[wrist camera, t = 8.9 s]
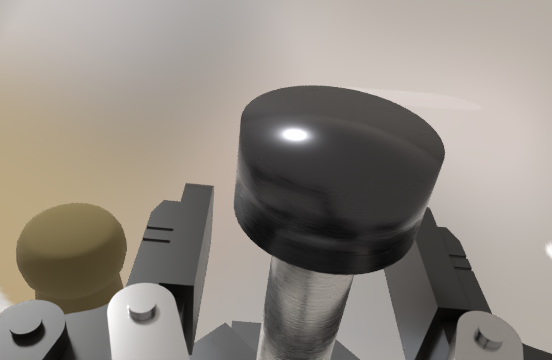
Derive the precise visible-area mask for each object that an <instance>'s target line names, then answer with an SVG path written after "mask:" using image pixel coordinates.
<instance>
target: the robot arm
mask: <svg viewBox="0 0 552 360" xmlns="http://www.w3.org/2000/svg"><path fill="white" fill-rule="evenodd" d="M213 197H214V186H209V185H199V184H188V183H186V185H185V189H184V192H183V196H182V199H181V202H177V201H167V200H164V201H163V202H162V203H161V204H159V206H157V207H156V208H155V209H154V210H153V211H152V212H151V215H150V218H149V221H148V224H147V228H146V230H145V233H144V236H143V240H142V241H141V245H140V247H139V250H138V253H137V256H136V259H135V262H134V265H133V268H132V271H131V274H130V276H129V279H128V283H127V285H126V287H125V288H124V289H122V290H120V291H119V292H118V293H116V294H115V295H114V296H113V298H112V299H111V301H110V303H108V304H106V305H104V306H102V307H99V308H96V309H92V310H88V311H82V312H77V313H71V314H66V315H64V313H63V311H62V310H61V309H60V308H59V307H58V306H57V305H55V304H54V303H51V302H49V301H44V300H30V301H24V302H21V303H18V304H15V305H13V306H11V307H9V308H7V309H5V310H4V311H3V312H1V313H0V360H190V358H189V355H192V352H193V346H194V339H195V334H196V328H197V322H198V316H199V310H200V304H201V298H202V293H203V287H204V281H205V275H206V269H207V263H208V257H209V251H210V243H211V233H212V216H213ZM384 271H385V276H386V280H387V284H388V288H389V293H390V297H391V301H392V305H393V309H394V313H395V317H396V322H397V326H398V330H399V334H400V338H401V342H402V346H403V351H404V355H405V359H406V360H552V354H550V353H547V352H544V351H542V350H539V349H536V348H533V347H530V346H528V345H525V344H523V343H522V342H521V339H520V337H519V335H518V334H517V333H516V331H515V330H514V329H513V328H512V327H511V326H510V325H509V324H508V323H507V322H505V321H504V320H502V319H501V318H499V317H497V316H495V315H493V314H492V313H491V311H490V308H489V306H488V304H487V302H486V299H485V297H484V295H483V293H482V290H481V288H480V286H479V284H478V281H477V279H476V277H475V275H474V272H473V271H471V266H470V263H469V261H468V259H466V254H465V252H464V250H463V248H462V245H461V243H460V241H459V240H458V239H457V238H456V237H455V236H454V235H453V234H452V233H451V232H450V231H449V230H448V229H447V228H445V227H437V225H436V222H435V220H434V217H433V215H432V212H431V210H430V209H429V208H428V207H427V208H426V210H425V213H424V216H423V218H422V221H421V224H420V227H419V229H418V232H417V235H416V238H415V240H414V243H413V245H412V247H411V249H410V250H409V251H408V253H407V254H406V255H405V256H404V257H403V258H402V259H400V260H399V261H397V262H396V263H394V264H393V265H391V266H388V267H386V268H384Z"/></svg>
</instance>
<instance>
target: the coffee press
mask: <svg viewBox="0 0 552 360" xmlns="http://www.w3.org/2000/svg"><path fill="white" fill-rule="evenodd" d="M261 324H262V323H252V322H240V321H232V328H231V327H229V326H228V325H227V324H226V323H224V324H223V325H221V326H219V327H218V328H217V329H215V330H213V331H212V332H210V333H209V334H207V335H206V336H205V337H203V338H201V339H200V340H198V341H197V342H195V343H194V346H193V352H192V355H189V358H190V360H256V357H257V351H258V344H259V337H260V331H261ZM330 360H360V359H358V358H357V357H356V356H355V355H354V354H352V353H351V352H350V351H349V350H348V349H346V348H345V347H344V346H343V345H342V344H341V343H339V342H338V341H337V340H336V339H335V343H334V346H333V350H332V353H331V357H330Z"/></svg>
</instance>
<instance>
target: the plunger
mask: <svg viewBox="0 0 552 360" xmlns="http://www.w3.org/2000/svg"><path fill="white" fill-rule="evenodd" d="M444 156H445V150H444V145H443V143H442V140H441V138H440V137H439V135H438V134H437V132H436V131H435V130H434V129H433V128H432V127H431V126H430V125H429V124H428V123H427V122H425V120H423V119H422V118H420V117H419V116H418V115H416V114H414V113H412V112H411V111H409V110H408V109H406V108H404V107H402V106H400V105H398V104H396V103H393V102H391V101H389V100H386V99H383V98H381V97H378V96H374V95H371V94H368V93H364V92H360V91H356V90H351V89H345V88H338V87H330V86H295V87H288V88H281V89H277V90H273V91H270V92H267V93H265V94H263V95H260V96H259V97H257V98H255V99H254V100H252V101H251V102H250V103H249V104H248V105H247V106H246V107H245V109H244V111H243V113H242V117H241V124H240V136H239V148H238V161H237V171H236V184H235V196H234V210H235V215H236V217H237V220H238V223H239V224H240V226H241V228H242V229H243V231H244V232H245V233H246V234H247V236H248V237H249V238H250V239H251V240H252V241H253V242H254V243H255V244H257V245H258V246H259V247H260V248H262V249H263V250H265V251H266V252H267V253H269V254H270V255H272V259H271V265H270V272H269V278H268V285H267V291H266V298H265V304H264V311H263V318H262V324H261V331H260V337H259V344H258V351H257V357H256V360H330V357H331V353H332V350H333V346H334V343H335V339H336V336H337V332H338V329H339V325H340V322H341V319H342V315H343V312H344V308H345V305H346V301H347V298H348V294H349V291H350V287H351V284H352V280H353V277H354V275H357V274H364V273H370V272H374V271H378V270H381V269H384V268H386V267H388V266H391V265H393V264H394V263H396V262H397V261H399V260H400V259H402V258H403V257H404V256H405V255H406V254H407V253H408V251H409V250H410V249H411V247H412V245H413V243H414V240H415V238H416V235H417V232H418V229H419V227H420V224H421V221H422V218H423V216H424V213H425V210H426V208H427V205H428V202H429V199H430V197H431V194H432V191H433V188H434V186H435V183H436V180H437V177H438V174H439V172H440V169H441V166H442V164H443V160H444Z"/></svg>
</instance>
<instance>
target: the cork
mask: <svg viewBox="0 0 552 360" xmlns="http://www.w3.org/2000/svg"><path fill="white" fill-rule="evenodd" d="M126 251H127V245H126V238H125V234H124V231H123V228H122V226H121V224H120V223H119V222H118V221H117V220H116V218H115V217H114V216H113V215H112V214H111V213H109V212H108V211H107V210H104V209H103V208H101V207H99V206H95V205H91V204H83V203H71V204H65V205H59V206H56V207H53V208H50V209H47V210H45V211H43V212H42V213H40V214H38V215H36V216H35V217H34V218H32V220H30V221H29V222H28V223H27V224H26V226H25V228H24V229H23V231H22V233H21V235H20V237H19V239H18V241H17V248H16V257H17V265H18V268H19V270H20V272H21V274H22V276H23V277H24V279H25V281H26V282H27V283H28V285H29V286H30V287H31V288H33V289H34V290H35V296H36V297H35V299H36V300H44V301H49V302H51V303H54V304H55V305H57V306H58V307H59V308H60V309H61V310H62V311H63V313H64V315H66V314H71V313H77V312H82V311H88V310H92V309H96V308H99V307H102V306H104V305H106V304H108V303H110V301H111V299H112V298H113V296H114V295H115V294H116V293H118V292H119V291H120V290H122V289H124V288H123V284H122V281H121V278H120V274H119V272H120V271H121V269H122V267H123V264H124V260H125V255H126Z"/></svg>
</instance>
